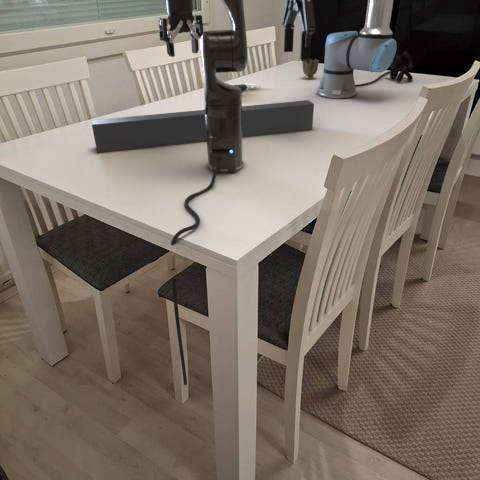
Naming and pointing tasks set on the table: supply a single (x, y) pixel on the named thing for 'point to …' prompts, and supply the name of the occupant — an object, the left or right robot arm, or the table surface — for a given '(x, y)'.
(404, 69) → the squiggle
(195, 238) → the table surface
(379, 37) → the right robot arm
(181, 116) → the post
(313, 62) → the cup
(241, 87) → the spray bottle
